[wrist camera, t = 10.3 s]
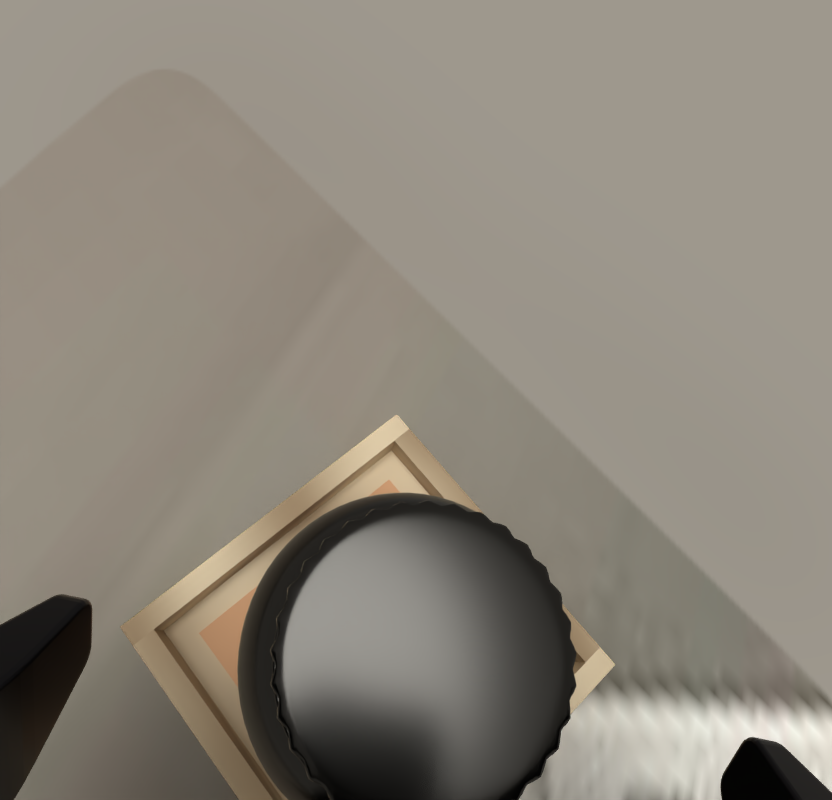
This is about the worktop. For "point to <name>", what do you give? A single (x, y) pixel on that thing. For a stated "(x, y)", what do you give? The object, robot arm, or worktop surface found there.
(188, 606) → the tray
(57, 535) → the worktop surface
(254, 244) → the worktop surface
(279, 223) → the worktop surface
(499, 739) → the supplement bottle
